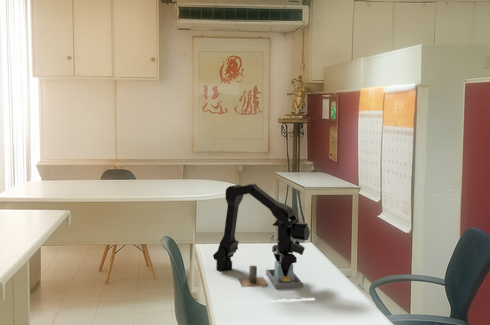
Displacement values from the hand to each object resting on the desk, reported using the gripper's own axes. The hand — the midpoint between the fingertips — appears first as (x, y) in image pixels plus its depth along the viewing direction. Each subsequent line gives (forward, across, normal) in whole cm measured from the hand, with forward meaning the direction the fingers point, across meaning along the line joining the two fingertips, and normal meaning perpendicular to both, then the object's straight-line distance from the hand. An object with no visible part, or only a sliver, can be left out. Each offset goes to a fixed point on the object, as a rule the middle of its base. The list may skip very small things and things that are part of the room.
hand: (283, 273), depth 207 cm
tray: (+4, 0, 0) cm, 4 cm away
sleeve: (+2, -1, 0) cm, 2 cm away
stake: (+4, 0, +13) cm, 14 cm away
